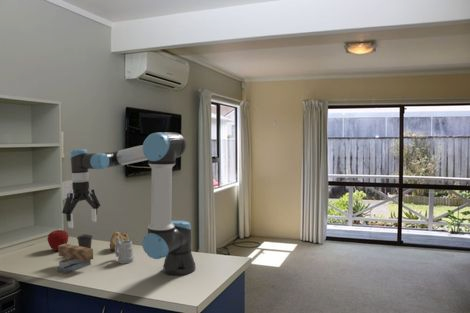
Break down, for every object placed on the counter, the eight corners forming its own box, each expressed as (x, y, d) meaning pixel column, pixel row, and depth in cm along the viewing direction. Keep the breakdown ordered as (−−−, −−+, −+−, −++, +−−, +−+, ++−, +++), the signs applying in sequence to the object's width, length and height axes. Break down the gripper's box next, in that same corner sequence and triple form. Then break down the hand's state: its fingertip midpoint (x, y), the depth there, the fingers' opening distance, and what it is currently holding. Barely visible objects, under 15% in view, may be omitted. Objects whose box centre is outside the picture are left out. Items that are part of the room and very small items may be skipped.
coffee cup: (87, 250, 215) (86, 232, 215) (96, 252, 211) (95, 234, 210) (74, 254, 209) (73, 235, 208) (83, 256, 204) (82, 238, 203)
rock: (112, 246, 221) (111, 229, 221) (130, 245, 222) (129, 228, 222) (107, 253, 209) (106, 234, 209) (126, 252, 211) (126, 234, 210)
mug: (125, 264, 190) (124, 240, 189) (109, 260, 196) (108, 237, 195) (137, 260, 196) (136, 237, 195) (121, 256, 203) (120, 234, 202)
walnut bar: (93, 258, 184) (92, 248, 184) (86, 261, 181) (85, 250, 180) (65, 253, 194) (65, 243, 193) (58, 255, 190) (58, 245, 190)
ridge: (90, 264, 191) (90, 254, 191) (65, 273, 179) (65, 263, 179) (82, 262, 194) (82, 253, 194) (57, 271, 182) (57, 261, 182)
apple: (45, 250, 217) (44, 229, 216) (64, 246, 224) (64, 226, 224) (51, 254, 209) (50, 233, 208) (71, 250, 216) (70, 229, 216)
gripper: (96, 178, 199) (98, 218, 200) (52, 184, 177) (54, 229, 178) (106, 178, 195) (108, 219, 196) (62, 184, 173) (65, 231, 175)
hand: (82, 224), depth 187 cm, fingers open, 13 cm apart
